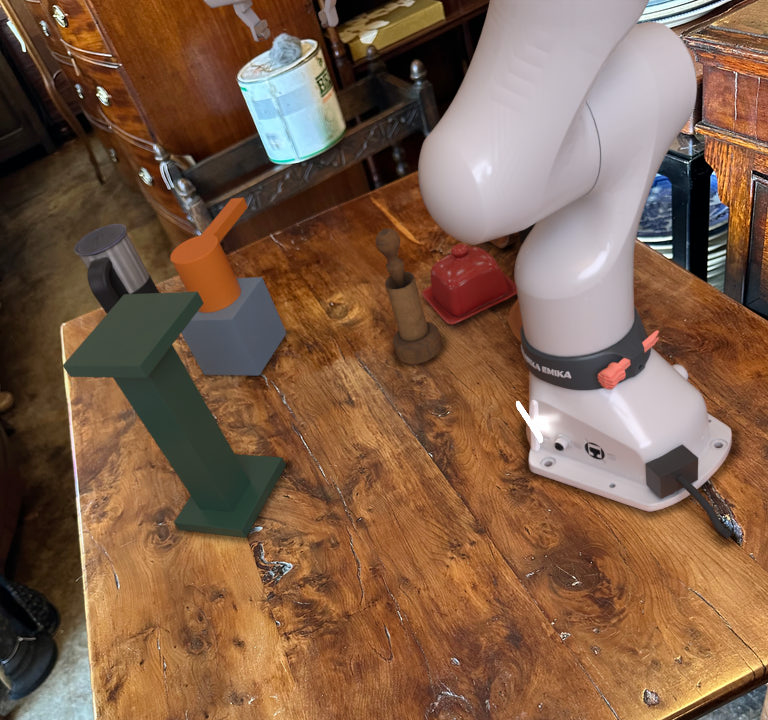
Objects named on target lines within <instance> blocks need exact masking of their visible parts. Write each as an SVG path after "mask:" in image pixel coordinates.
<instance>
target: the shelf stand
mask: <svg viewBox="0 0 768 720" xmlns="http://www.w3.org/2000/svg"><path fill="white" fill-rule="evenodd" d="M203 304H204V303H203V301H202V299H201V297H200V295H199V293H198V292H187V291H178V292H176V291H175V292H160V293H148V294H124V295H123V296H122V297H121V299H120V300H119V301H118V302H117V303H116V304H115V305H114V307H113V308H112V309H111V310H110V311H109V312H108V314H106V315H104V317H103V318H102V319H101V320H100V321H99V323H98V324H96V326H95V327H94V328H93V330H92V331H91V332H90V333H89V334H88V335H87V336H86V338H85V339H84V340H83V341H82V342H81V343H80V344H79V345H78V347H77V348H76V349H75V350H74V351H73V353H71V355H70V356H69V357H68V358H67V360H66V361H65V362H64V363H63V364H62V368H63V369H64V370H65V372H66V373H67V375H68V376H69V377H70V378H111V379H113V380H114V381H115V383H116V385H117V386H118V388H119V389H120V391H121V392H122V393H123V395H124V397H125V399H126V400H127V401H128V403H129V405H130V406H131V407H132V409H133V411H134V412H135V414H136V415H137V416H138V418H139V420H140V421H141V422H142V424H143V426H144V427H145V428H146V430H147V432H148V434H150V436H151V438H152V439H153V441H154V442H155V444H156V446H157V447H158V448H159V450H160V451H161V453H162V454H163V456H164V457H165V459H166V460H167V463H169V465H170V467H171V468H172V469H173V471H174V472H175V474H176V475H177V477H178V478H179V480H180V482H181V483H182V484H183V486H184V488H185V489H186V491H187V493H188V494H189V497H188V499H187V501H186V502H185V504H183V505H184V506H183V507H182V509H181V510H180V512H179V513H178V515H177V516H176V518H175V519H174V522H173V523H174V526H176V528H177V530H179V531H184V532H193V533H202V534H210V535H220V536H228V537H235V538H236V537H237V538H243V539H244V538H245V539H246V538H247V537H248V535H249V534H250V531H251V530H252V528H253V526H254V525H255V522H256V521H257V519H258V517H259V515H260V513H261V512H262V510H263V508H264V506H265V505H266V503H267V501H268V499H269V498H270V496H271V494H272V492H273V490H274V488H275V486H276V485H277V483H278V481H279V479H280V477H281V476H282V474H283V472H284V470H285V469H286V467H287V463H286V461H285V459H284V458H283V457H282V456H269V455H256V454H255V455H254V454H238V453H235V451H234V450H233V448H232V447H231V444H230V443H229V441H228V440H227V438H226V436H225V434H224V433H223V431H222V429H221V428H220V426H219V424H218V422H217V420H216V419H215V417H214V415H213V413H212V411H211V410H210V408H209V406H208V404H207V403H206V401H205V399H204V397H203V396H202V394H201V391H200V390H199V388H198V387H197V385H196V383H195V382H194V380H193V378H192V376H191V375H190V373H189V371H188V369H187V368H186V366H185V363H184V362H183V361H182V358H181V357H180V355H179V354H178V351H177V350H176V348H175V346H174V343H175V342H176V341H177V340H178V338H179V337H180V335H182V334H181V333H182V331H183V330H184V329H185V327H186V326H187V325H188V323H189V322H190V321H191V319H192V318H193V317H194V315H195V314H196V313H197V312H198V310H199V309H200V308H201V306H202V305H203Z"/></svg>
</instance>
